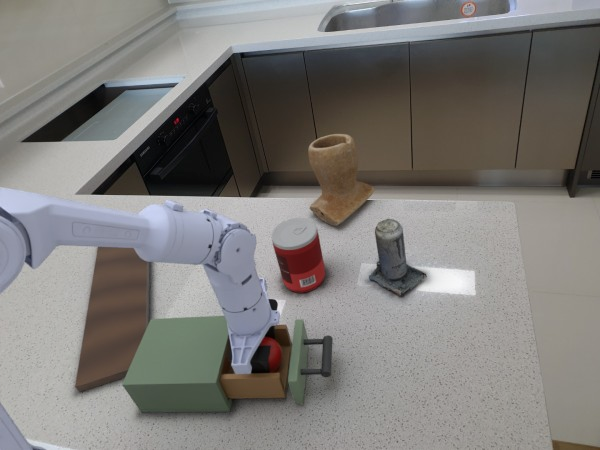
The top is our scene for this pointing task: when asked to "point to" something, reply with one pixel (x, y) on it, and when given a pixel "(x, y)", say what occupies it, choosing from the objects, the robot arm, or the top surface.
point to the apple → (273, 353)
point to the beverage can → (393, 259)
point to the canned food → (299, 254)
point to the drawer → (277, 382)
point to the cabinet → (180, 366)
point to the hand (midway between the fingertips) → (265, 358)
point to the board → (114, 316)
